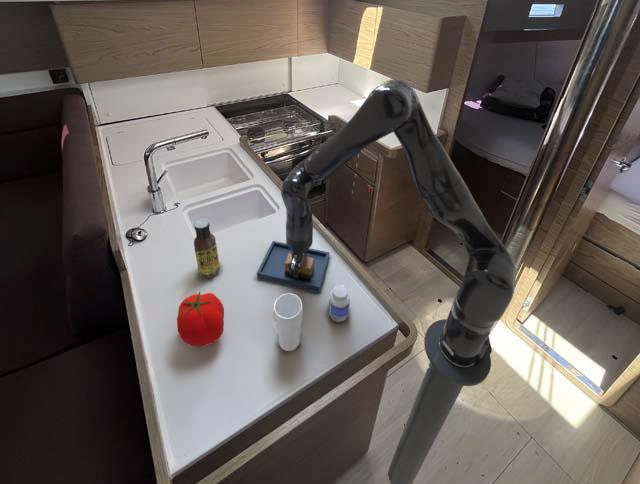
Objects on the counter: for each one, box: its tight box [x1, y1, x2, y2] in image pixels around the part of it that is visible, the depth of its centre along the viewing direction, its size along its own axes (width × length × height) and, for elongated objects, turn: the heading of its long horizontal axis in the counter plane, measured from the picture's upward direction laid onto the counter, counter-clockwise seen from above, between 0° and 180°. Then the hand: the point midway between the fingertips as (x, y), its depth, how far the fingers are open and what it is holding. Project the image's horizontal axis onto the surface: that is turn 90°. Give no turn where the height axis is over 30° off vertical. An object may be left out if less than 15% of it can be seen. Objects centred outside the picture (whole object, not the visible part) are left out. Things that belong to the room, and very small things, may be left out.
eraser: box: [285, 253, 314, 281], centre depth 98 cm, size 8×5×5 cm, turn 76°
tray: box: [256, 240, 330, 293], centre depth 102 cm, size 20×14×2 cm
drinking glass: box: [273, 292, 304, 352], centre depth 79 cm, size 7×7×15 cm
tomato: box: [176, 291, 225, 347], centre depth 81 cm, size 12×12×13 cm
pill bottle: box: [328, 284, 351, 323], centre depth 87 cm, size 5×5×10 cm
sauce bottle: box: [193, 218, 221, 279], centre depth 96 cm, size 6×6×20 cm
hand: (299, 270), depth 99 cm, fingers closed on eraser, 5 cm apart
